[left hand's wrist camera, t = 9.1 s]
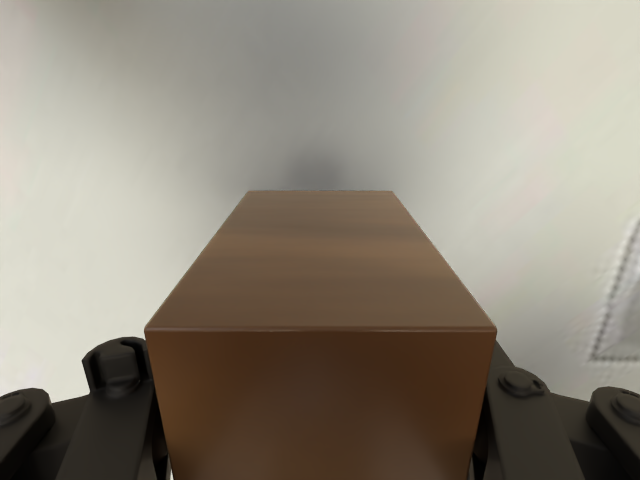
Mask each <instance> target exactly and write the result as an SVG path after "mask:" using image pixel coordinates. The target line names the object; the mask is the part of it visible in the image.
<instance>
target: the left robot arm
mask: <svg viewBox="0 0 640 480" xmlns="http://www.w3.org/2000/svg"><path fill="white" fill-rule="evenodd" d="M82 364H83V367H84V371H85V374H86V378H87V382H88V385H89V389H90V393H89V394H88V395H85V396H82V397H78V398H73V399H69V400H64V401H60V402H55V403H51V400H50V397H49V394H48V393H47V392H45V391H44V390H43V389H37V388H28V389H22V390H17V391H14V392H11V393H8V394H6V395H3V396H1V397H0V480H170V475H171V464H170V459H169V454H168V449H167V444H166V439H165V434H164V429H163V424H162V419H161V414H160V409H159V404H158V399H157V394H156V389H155V384H154V379H153V374H152V369H151V364H150V359H149V354H148V349H147V344H146V340H144V339H142V338H137V337H121V338H117V339H113V340H109V341H107V342H105V343H103V344H100V345H98V346H97V347H95V348H94V349H92V350H91V351H89V352H88V353H87V354H86V356H85V357H84V358H83V359H82ZM467 480H640V395H639V394H637V393H634V392H632V391H629V390H625V389H622V388H616V387H609V386H608V387H601V388H598V389H596V390H595V391H594V392H593V393H592V396H591V399H590V402H588V401H583V400H579V399H574V398H570V397H565V396H561V395H557V394H554V393H550V390H549V389H548V387H547V386H546V385H545V383H544V382H543V381H542V380H540V379H539V378H538V377H537V376H535V375H534V374H532V373H530V372H528V371H526V370H524V369H521V368H517V367H515V366H514V365H513V363H512V362H511V360H510V359H509V358H508V356H507V355H506V353H505V352H504V351H503V349H502V348H501V346H500V345H499V344H498V342H497V341H496V340H495V345H494V349H493V354H492V359H491V364H490V369H489V374H488V379H487V384H486V389H485V394H484V399H483V404H482V409H481V414H480V418H479V423H478V428H477V433H476V438H475V443H474V448H473V453H472V458H471V463H470V468H469V473H468V478H467Z"/></svg>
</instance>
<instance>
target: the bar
mask: <svg viewBox="0 0 640 480" xmlns="http://www.w3.org/2000/svg"><path fill="white" fill-rule="evenodd" d="M144 334H145V339H146V344H147V349H148V354H149V359H150V364H151V369H152V374H153V379H154V384H155V389H156V394H157V399H158V404H159V409H160V414H161V419H162V424H163V429H164V434H165V439H166V444H167V449H168V454H169V459H170V464H171V469H172V474H173V479H174V480H467V478H468V473H469V468H470V463H471V458H472V453H473V448H474V443H475V438H476V433H477V428H478V423H479V418H480V414H481V409H482V404H483V399H484V394H485V389H486V384H487V379H488V374H489V369H490V364H491V359H492V354H493V349H494V345H495V340H496V335H497V328H496V326H495V325H494V323H493V322H492V321H491V319H490V318H489V317H488V316H487V314H486V313H485V312H484V310H483V309H482V308H481V306H480V305H479V304H478V302H477V301H476V300H475V299H474V297H473V296H472V295H471V293H470V292H469V291H468V289H467V288H466V287H465V285H464V284H463V283H462V282H461V280H460V279H459V278H458V276H457V275H456V274H455V272H454V271H453V270H452V268H451V267H450V266H449V265H448V263H447V262H446V261H445V259H444V258H443V257H442V255H441V254H440V253H439V251H438V250H437V249H436V248H435V246H434V245H433V244H432V242H431V241H430V240H429V238H428V237H427V236H426V234H425V233H424V232H423V231H422V229H421V228H420V227H419V225H418V224H417V223H416V221H415V220H414V219H413V217H412V216H411V215H410V214H409V212H408V211H407V210H406V208H405V207H404V206H403V204H402V203H401V202H400V200H399V199H398V198H397V197H396V195H395V194H394V193H393V191H248V192H247V193H246V194H245V196H244V197H243V198H242V200H241V201H240V202H239V204H238V205H237V206H236V208H235V209H234V210H233V212H232V213H231V214H230V216H229V217H228V218H227V219H226V221H225V222H224V223H223V225H222V226H221V227H220V229H219V230H218V231H217V233H216V234H215V235H214V237H213V238H212V239H211V240H210V242H209V243H208V244H207V246H206V247H205V248H204V250H203V251H202V252H201V254H200V255H199V256H198V258H197V259H196V260H195V262H194V263H193V264H192V265H191V267H190V268H189V269H188V271H187V272H186V273H185V275H184V276H183V277H182V279H181V280H180V281H179V283H178V284H177V285H176V286H175V288H174V289H173V290H172V292H171V293H170V294H169V296H168V297H167V298H166V300H165V301H164V302H163V304H162V305H161V306H160V307H159V309H158V310H157V311H156V313H155V314H154V315H153V317H152V318H151V319H150V321H149V322H148V323H147V325H146V326H145V328H144Z"/></svg>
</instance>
